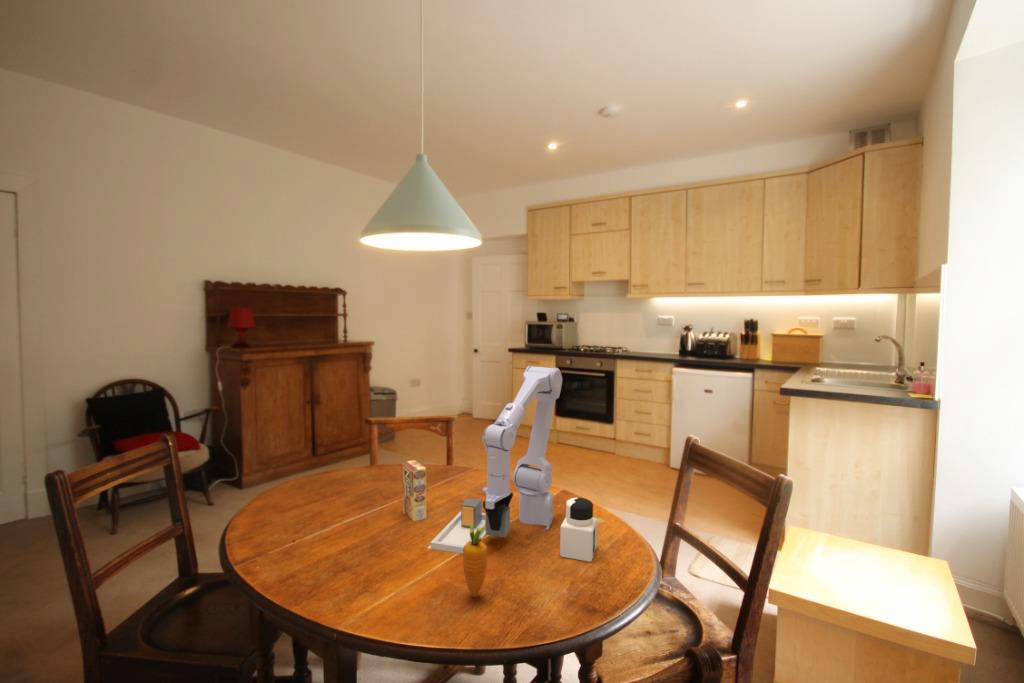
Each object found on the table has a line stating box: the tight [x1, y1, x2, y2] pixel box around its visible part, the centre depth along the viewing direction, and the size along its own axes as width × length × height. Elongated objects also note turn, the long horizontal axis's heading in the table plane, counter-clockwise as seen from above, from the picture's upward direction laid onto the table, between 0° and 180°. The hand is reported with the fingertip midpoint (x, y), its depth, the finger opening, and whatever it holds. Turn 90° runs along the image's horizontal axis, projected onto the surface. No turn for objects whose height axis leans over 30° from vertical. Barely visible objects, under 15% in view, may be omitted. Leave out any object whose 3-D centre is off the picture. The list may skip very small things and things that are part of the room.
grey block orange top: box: [484, 506, 511, 538], centre depth 117 cm, size 4×5×6 cm
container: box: [559, 497, 598, 563], centre depth 115 cm, size 8×8×13 cm
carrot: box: [462, 524, 488, 598], centre depth 95 cm, size 5×5×15 cm
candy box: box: [402, 460, 427, 522], centre depth 133 cm, size 9×4×15 cm, turn 33°
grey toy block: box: [460, 497, 483, 529], centre depth 127 cm, size 4×5×6 cm
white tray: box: [427, 510, 486, 555], centre depth 122 cm, size 11×20×2 cm, turn 164°
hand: (498, 525), depth 117 cm, fingers closed on grey block orange top, 4 cm apart
